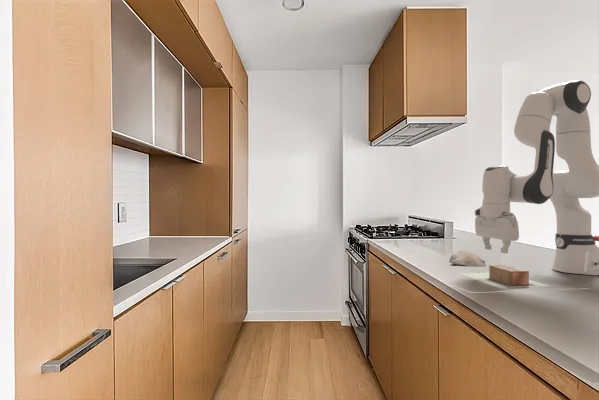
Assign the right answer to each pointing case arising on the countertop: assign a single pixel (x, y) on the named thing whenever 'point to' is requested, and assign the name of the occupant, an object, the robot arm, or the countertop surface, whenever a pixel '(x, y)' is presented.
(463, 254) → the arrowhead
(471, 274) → the sage mat
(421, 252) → the countertop surface
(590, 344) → the countertop surface
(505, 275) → the walnut block
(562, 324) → the countertop surface
